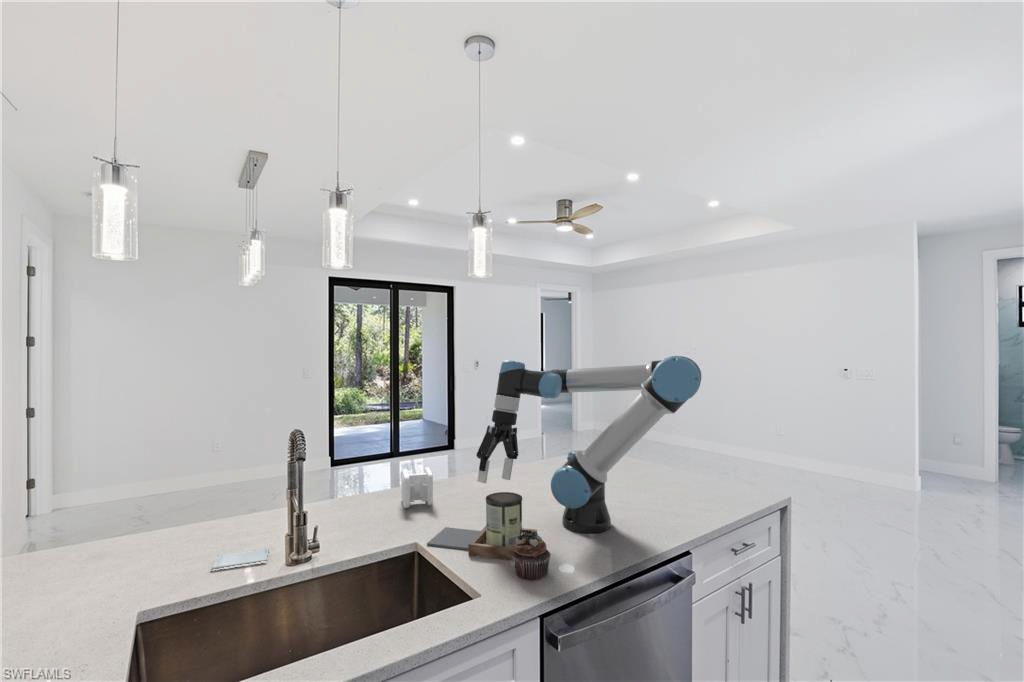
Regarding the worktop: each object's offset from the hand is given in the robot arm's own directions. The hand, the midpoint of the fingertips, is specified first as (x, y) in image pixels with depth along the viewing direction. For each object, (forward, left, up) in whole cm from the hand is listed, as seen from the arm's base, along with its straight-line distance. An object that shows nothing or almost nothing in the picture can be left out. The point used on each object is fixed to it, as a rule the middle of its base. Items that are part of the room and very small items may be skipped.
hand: (494, 480), depth 146 cm
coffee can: (-6, +9, -16) cm, 19 cm away
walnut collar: (-6, +9, -16) cm, 19 cm away
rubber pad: (+9, +7, -16) cm, 20 cm away
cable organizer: (+36, -20, -16) cm, 44 cm away
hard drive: (+58, +36, -17) cm, 70 cm away
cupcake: (-17, +22, -16) cm, 32 cm away
